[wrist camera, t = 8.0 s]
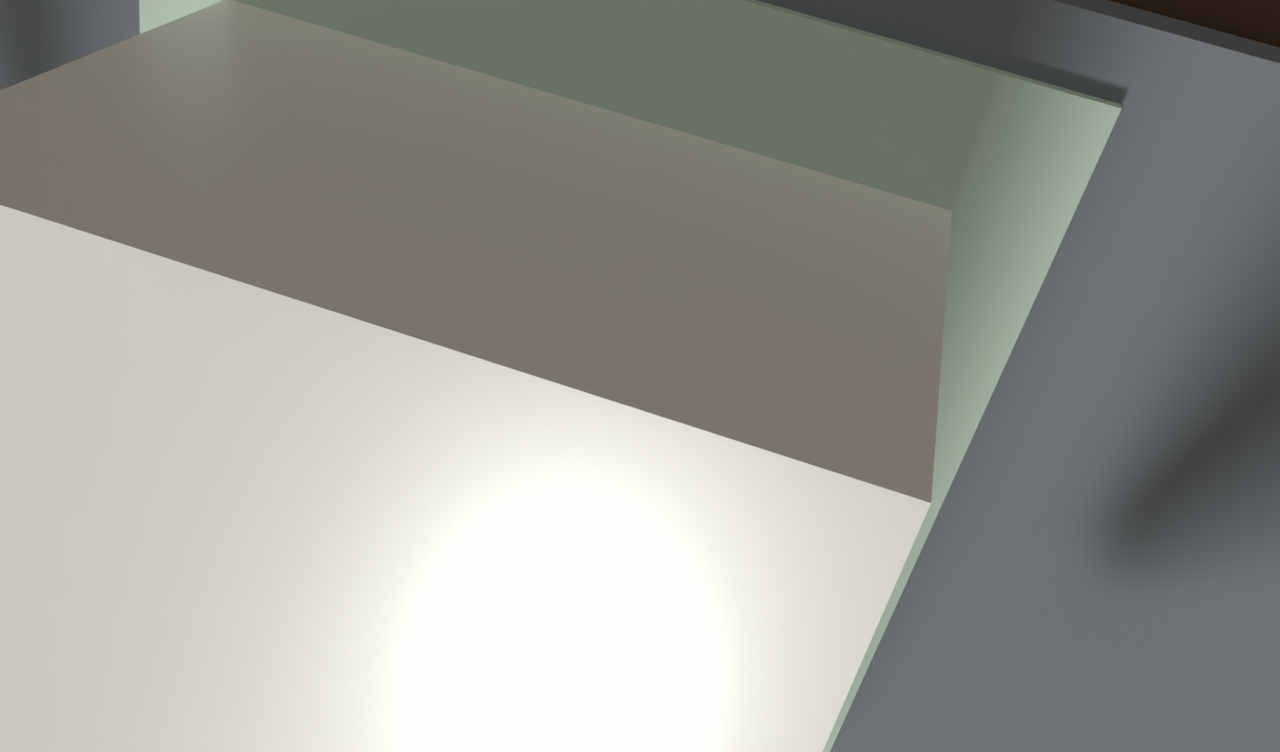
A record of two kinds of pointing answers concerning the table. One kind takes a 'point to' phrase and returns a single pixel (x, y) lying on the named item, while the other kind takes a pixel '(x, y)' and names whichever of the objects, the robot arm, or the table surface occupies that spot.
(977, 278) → the shallow gray tray
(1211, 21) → the table surface
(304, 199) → the card case
